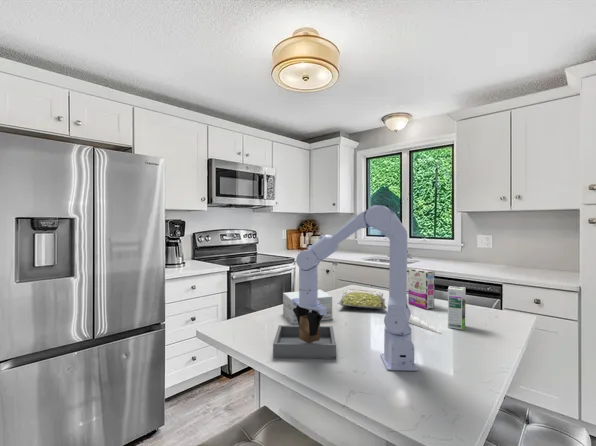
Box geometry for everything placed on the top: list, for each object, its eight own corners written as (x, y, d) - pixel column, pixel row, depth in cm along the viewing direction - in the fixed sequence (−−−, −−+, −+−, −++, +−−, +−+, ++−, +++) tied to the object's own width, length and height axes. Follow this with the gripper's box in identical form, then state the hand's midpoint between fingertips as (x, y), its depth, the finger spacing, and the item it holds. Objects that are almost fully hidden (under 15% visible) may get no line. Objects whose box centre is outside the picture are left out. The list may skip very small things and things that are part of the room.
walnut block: (319, 340, 101) (320, 317, 101) (308, 343, 99) (309, 319, 99) (310, 336, 105) (310, 314, 105) (299, 338, 102) (299, 316, 102)
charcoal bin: (336, 359, 93) (336, 345, 93) (273, 357, 94) (273, 344, 94) (332, 338, 109) (332, 326, 109) (278, 337, 110) (278, 325, 110)
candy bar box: (435, 308, 143) (435, 271, 143) (426, 310, 141) (426, 272, 141) (415, 302, 153) (416, 267, 153) (407, 303, 151) (408, 268, 151)
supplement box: (320, 310, 141) (320, 289, 141) (332, 319, 129) (332, 296, 129) (282, 314, 136) (282, 291, 136) (291, 324, 124) (291, 299, 123)
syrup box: (447, 328, 119) (447, 288, 118) (448, 323, 124) (448, 285, 124) (465, 330, 116) (465, 289, 116) (465, 325, 121) (465, 286, 121)
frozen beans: (337, 297, 140) (341, 284, 165) (336, 310, 140) (341, 296, 165) (387, 301, 136) (384, 287, 160) (387, 315, 136) (383, 299, 161)
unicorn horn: (433, 336, 111) (433, 322, 111) (387, 316, 133) (387, 305, 133) (443, 334, 113) (443, 320, 113) (396, 315, 135) (396, 303, 135)
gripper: (334, 291, 98) (334, 336, 98) (303, 283, 109) (303, 323, 110) (316, 294, 94) (316, 342, 94) (286, 286, 105) (286, 328, 105)
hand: (308, 332), depth 101 cm, fingers closed on walnut block, 4 cm apart
